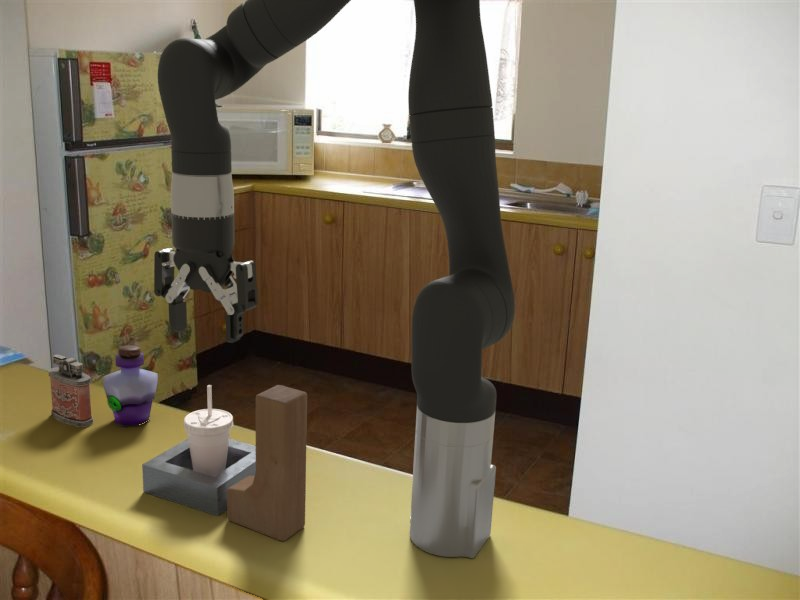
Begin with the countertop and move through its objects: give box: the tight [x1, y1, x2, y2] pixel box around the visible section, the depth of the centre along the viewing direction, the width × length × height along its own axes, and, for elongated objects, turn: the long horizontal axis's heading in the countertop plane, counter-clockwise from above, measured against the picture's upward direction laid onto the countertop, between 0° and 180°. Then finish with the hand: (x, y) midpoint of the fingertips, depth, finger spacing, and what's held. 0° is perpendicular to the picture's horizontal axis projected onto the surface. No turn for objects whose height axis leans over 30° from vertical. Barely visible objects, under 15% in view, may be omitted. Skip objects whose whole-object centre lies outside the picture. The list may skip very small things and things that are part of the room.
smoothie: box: [183, 384, 234, 477], centre depth 112 cm, size 6×6×14 cm
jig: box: [142, 438, 256, 517], centre depth 113 cm, size 12×12×4 cm
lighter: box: [47, 354, 94, 428], centre depth 130 cm, size 8×3×10 cm, turn 58°
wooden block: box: [226, 384, 308, 542], centre depth 103 cm, size 9×4×18 cm, turn 60°
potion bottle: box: [102, 344, 159, 428], centre depth 131 cm, size 9×9×12 cm
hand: (205, 335), depth 108 cm, fingers open, 8 cm apart
